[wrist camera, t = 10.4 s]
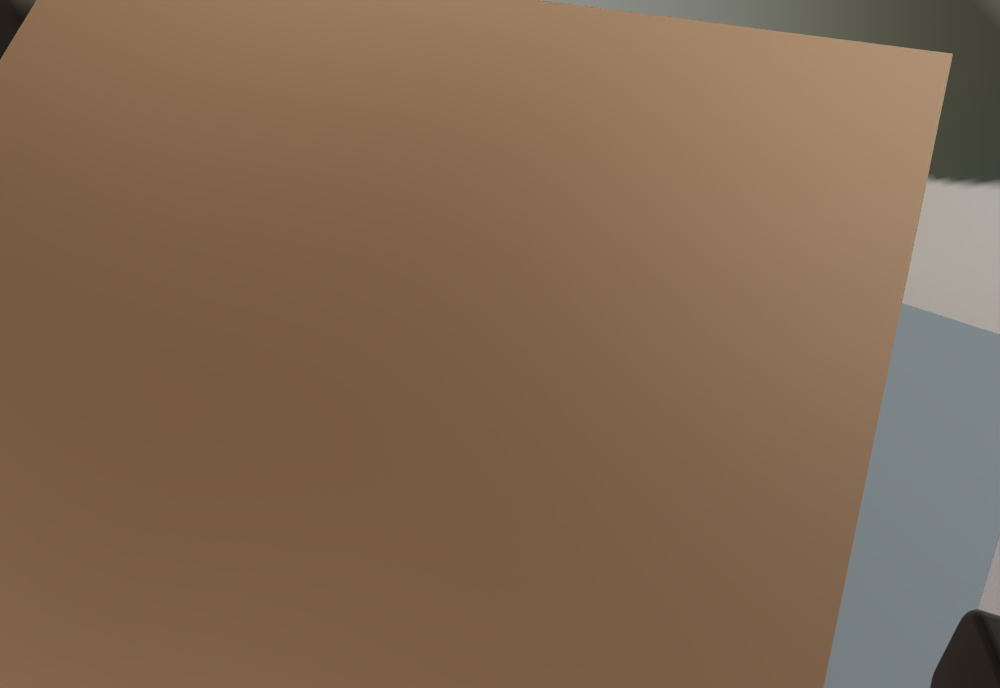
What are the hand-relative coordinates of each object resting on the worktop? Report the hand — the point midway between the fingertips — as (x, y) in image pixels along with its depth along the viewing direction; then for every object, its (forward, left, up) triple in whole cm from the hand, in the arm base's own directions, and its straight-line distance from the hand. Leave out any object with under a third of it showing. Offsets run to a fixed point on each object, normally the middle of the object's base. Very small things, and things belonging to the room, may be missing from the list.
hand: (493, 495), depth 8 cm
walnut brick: (0, 0, -8) cm, 8 cm away
